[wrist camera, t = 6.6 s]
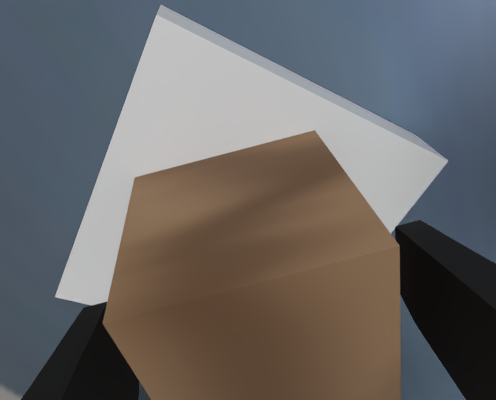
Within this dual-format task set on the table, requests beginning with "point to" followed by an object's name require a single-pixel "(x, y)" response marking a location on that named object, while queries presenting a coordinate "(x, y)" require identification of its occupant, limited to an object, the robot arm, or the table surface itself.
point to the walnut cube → (257, 281)
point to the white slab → (230, 136)
